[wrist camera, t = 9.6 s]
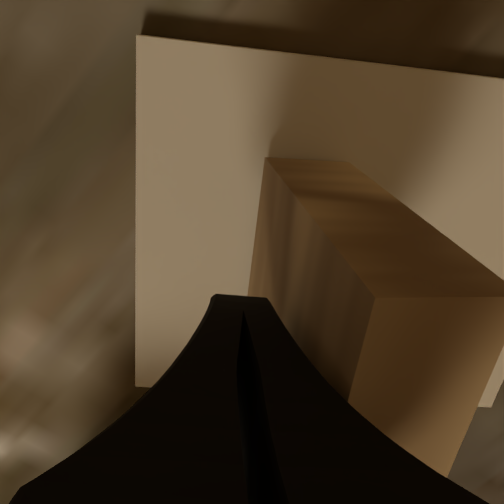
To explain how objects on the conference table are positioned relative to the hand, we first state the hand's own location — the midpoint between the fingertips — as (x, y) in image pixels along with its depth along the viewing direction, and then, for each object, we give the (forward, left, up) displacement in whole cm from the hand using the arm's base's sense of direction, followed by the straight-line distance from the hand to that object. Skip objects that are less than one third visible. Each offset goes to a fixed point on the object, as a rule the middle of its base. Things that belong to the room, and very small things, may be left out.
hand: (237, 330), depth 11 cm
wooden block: (+2, 0, -4) cm, 4 cm away
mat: (+4, 0, -5) cm, 6 cm away
